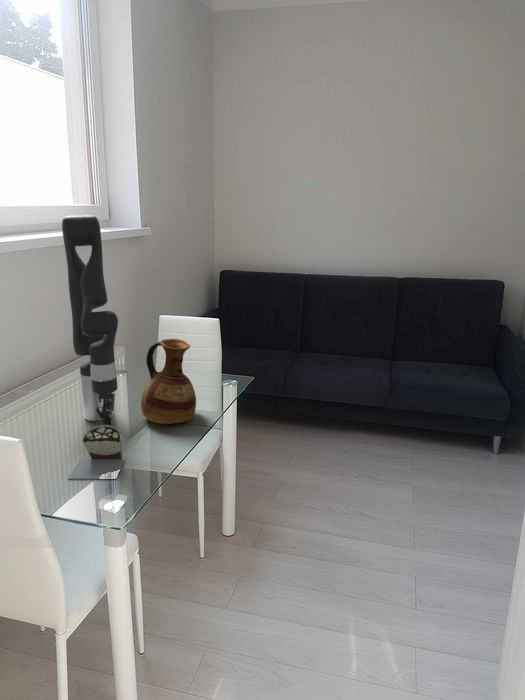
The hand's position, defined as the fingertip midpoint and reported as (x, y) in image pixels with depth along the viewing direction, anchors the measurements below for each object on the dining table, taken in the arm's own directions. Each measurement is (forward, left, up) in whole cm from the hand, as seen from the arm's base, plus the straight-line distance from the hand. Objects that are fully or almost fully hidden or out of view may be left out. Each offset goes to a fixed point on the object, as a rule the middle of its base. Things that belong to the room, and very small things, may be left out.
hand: (108, 427), depth 165 cm
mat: (+10, -1, -9) cm, 14 cm away
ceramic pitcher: (-27, +15, -9) cm, 33 cm away
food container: (+1, 0, -8) cm, 8 cm away
